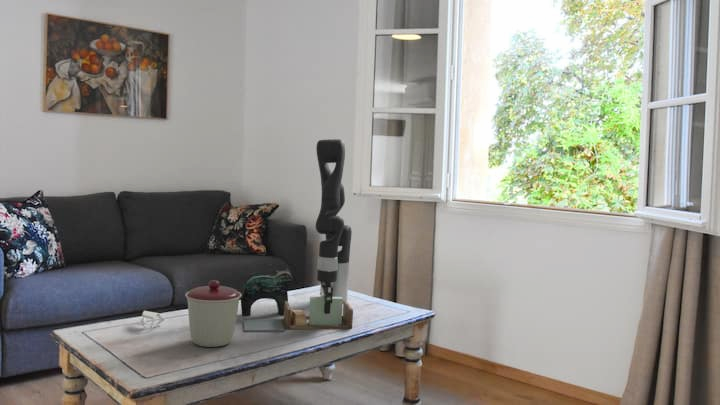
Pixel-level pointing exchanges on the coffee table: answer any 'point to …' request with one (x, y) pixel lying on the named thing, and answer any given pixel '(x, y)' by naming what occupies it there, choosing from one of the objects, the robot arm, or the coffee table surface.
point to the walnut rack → (346, 317)
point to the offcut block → (298, 318)
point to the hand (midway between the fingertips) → (325, 310)
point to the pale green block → (320, 317)
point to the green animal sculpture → (266, 290)
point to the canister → (212, 314)
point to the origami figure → (151, 317)
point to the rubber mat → (263, 325)
